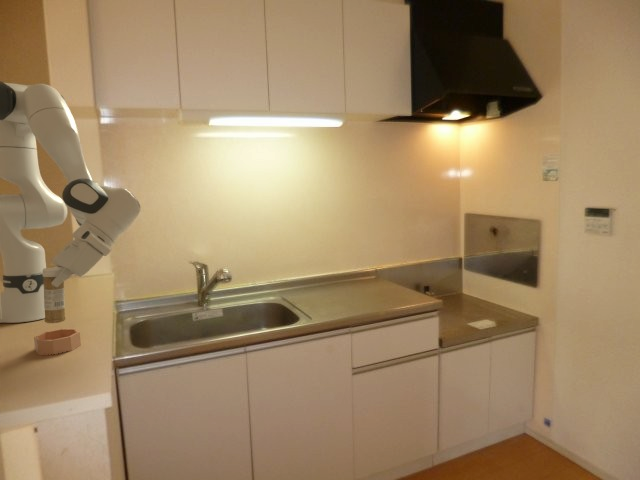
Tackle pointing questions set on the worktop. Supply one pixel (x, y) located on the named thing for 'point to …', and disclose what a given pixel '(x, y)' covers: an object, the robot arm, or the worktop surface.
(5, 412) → the worktop surface
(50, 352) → the bowl
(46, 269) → the sprinkles bottle
